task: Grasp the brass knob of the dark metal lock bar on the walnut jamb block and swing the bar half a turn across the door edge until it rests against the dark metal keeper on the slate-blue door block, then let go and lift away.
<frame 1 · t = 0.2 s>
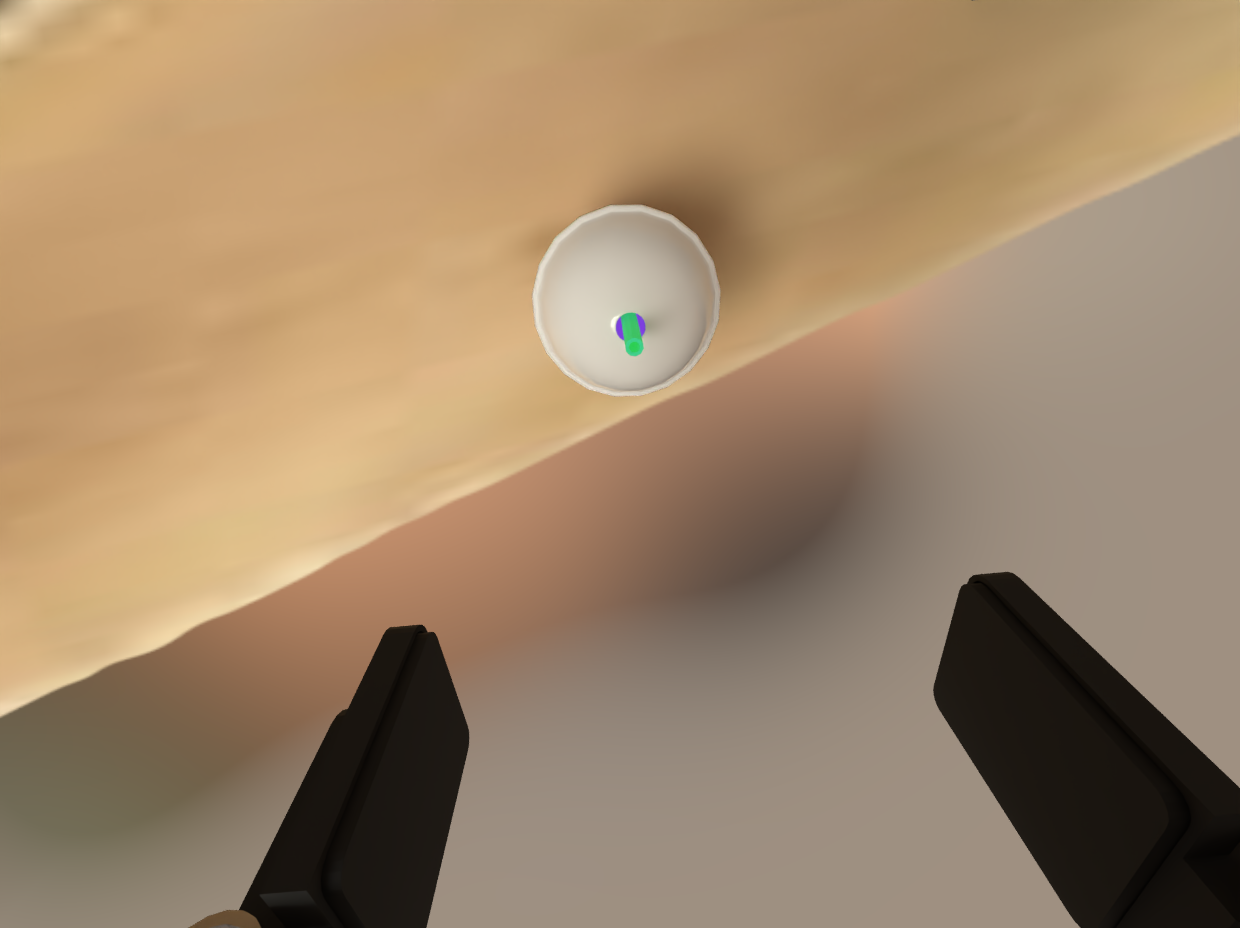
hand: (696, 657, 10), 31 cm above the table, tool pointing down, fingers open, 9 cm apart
smoothie: (618, 264, 36), on the table
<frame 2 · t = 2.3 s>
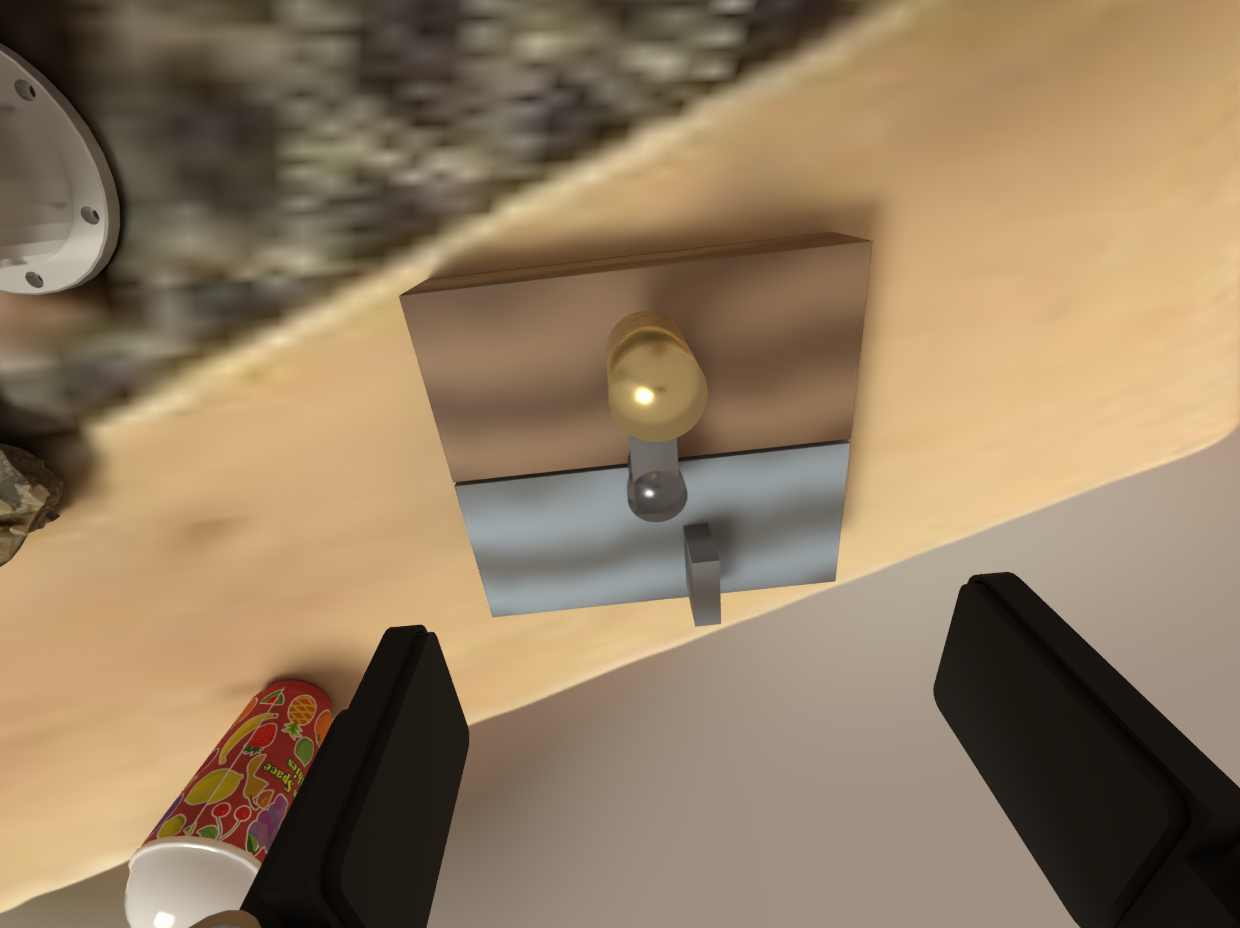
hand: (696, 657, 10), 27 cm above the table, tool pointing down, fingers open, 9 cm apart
lock bar: (656, 448, 24), point 12 cm above the table, hinge at 0.0°
smoothie: (300, 698, 48), on the table
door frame: (644, 426, 37), on the table
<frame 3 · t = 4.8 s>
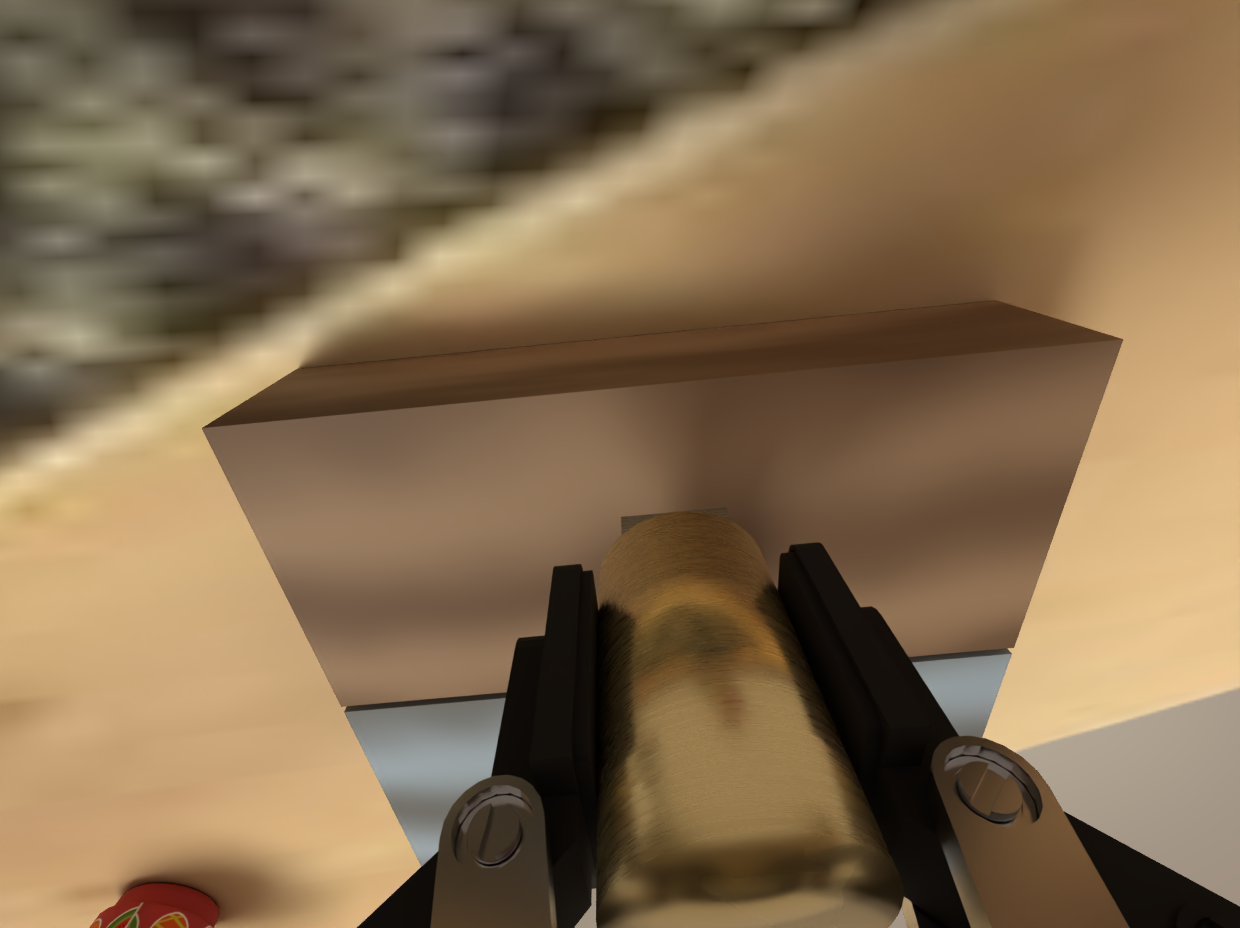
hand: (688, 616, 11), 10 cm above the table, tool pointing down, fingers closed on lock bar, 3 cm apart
lock bar: (703, 799, 11), point 12 cm above the table, hinge at 0.0°, touching gripper
smoothie: (175, 900, 35), on the table
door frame: (660, 583, 23), on the table
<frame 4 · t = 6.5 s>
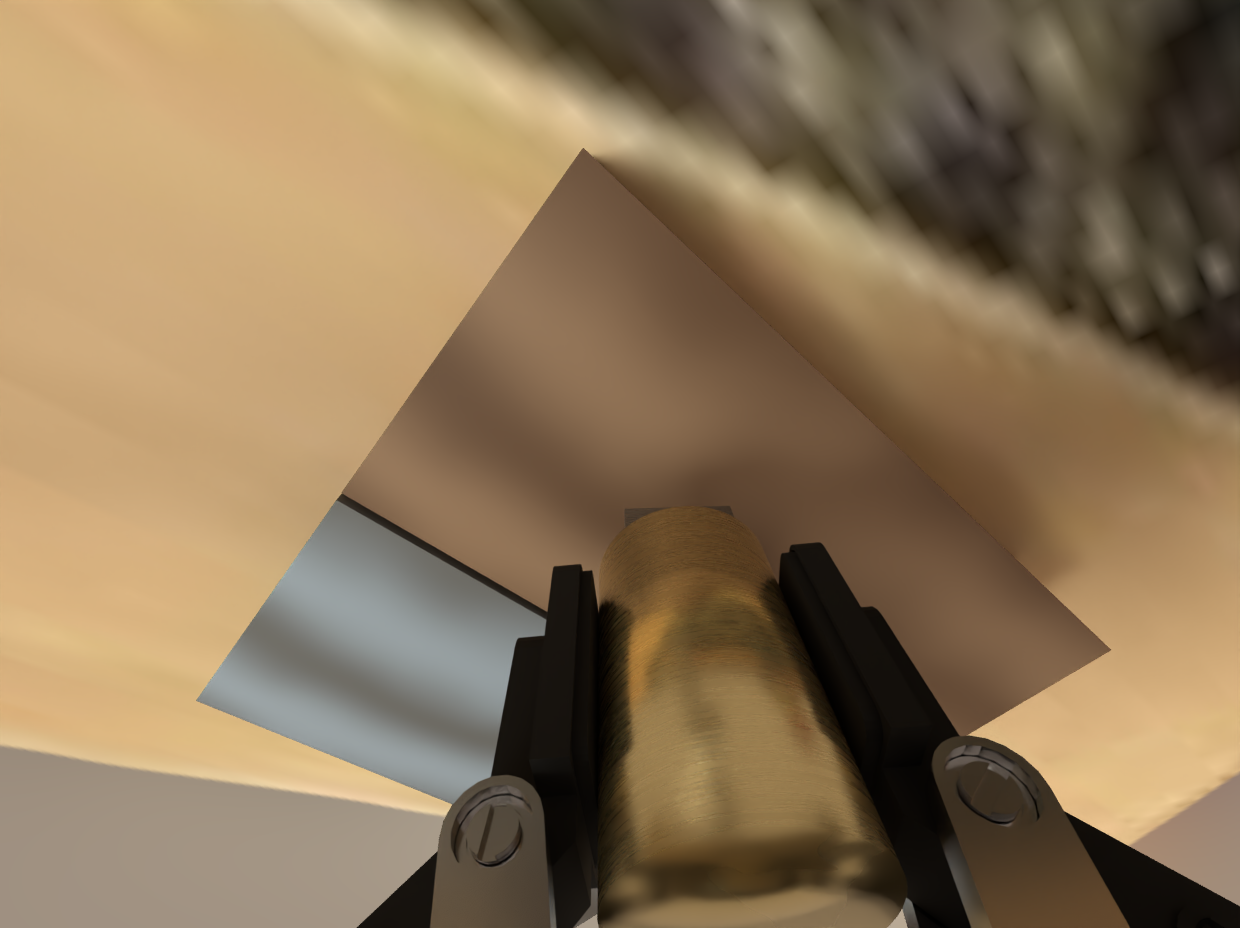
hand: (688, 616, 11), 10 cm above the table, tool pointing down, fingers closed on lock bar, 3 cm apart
lock bar: (689, 796, 11), point 12 cm above the table, hinge at 40.8°, touching gripper
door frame: (646, 581, 23), on the table
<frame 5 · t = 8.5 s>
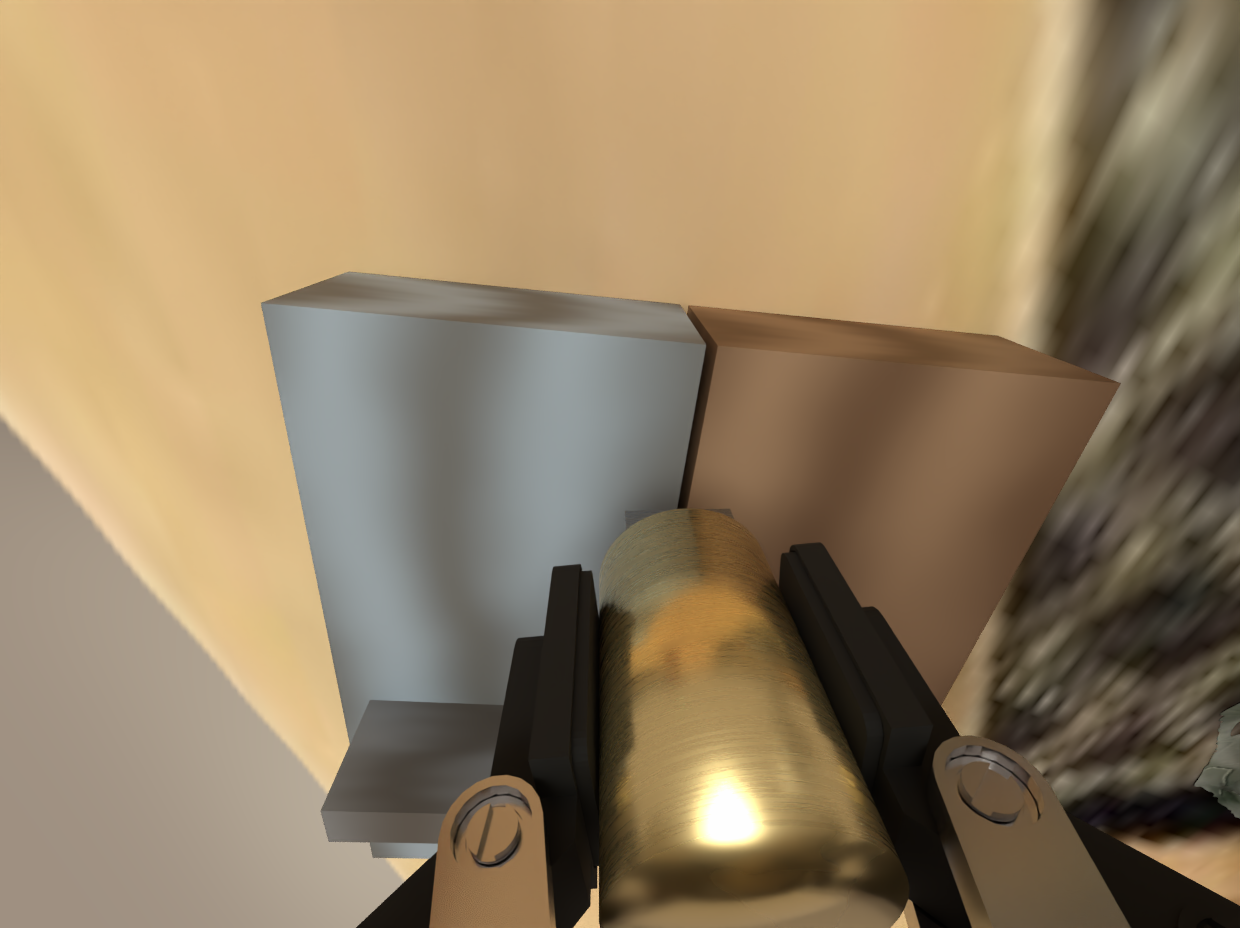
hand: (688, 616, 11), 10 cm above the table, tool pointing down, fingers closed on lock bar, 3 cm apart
lock bar: (689, 799, 11), point 12 cm above the table, hinge at 96.2°, touching gripper
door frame: (644, 584, 23), on the table
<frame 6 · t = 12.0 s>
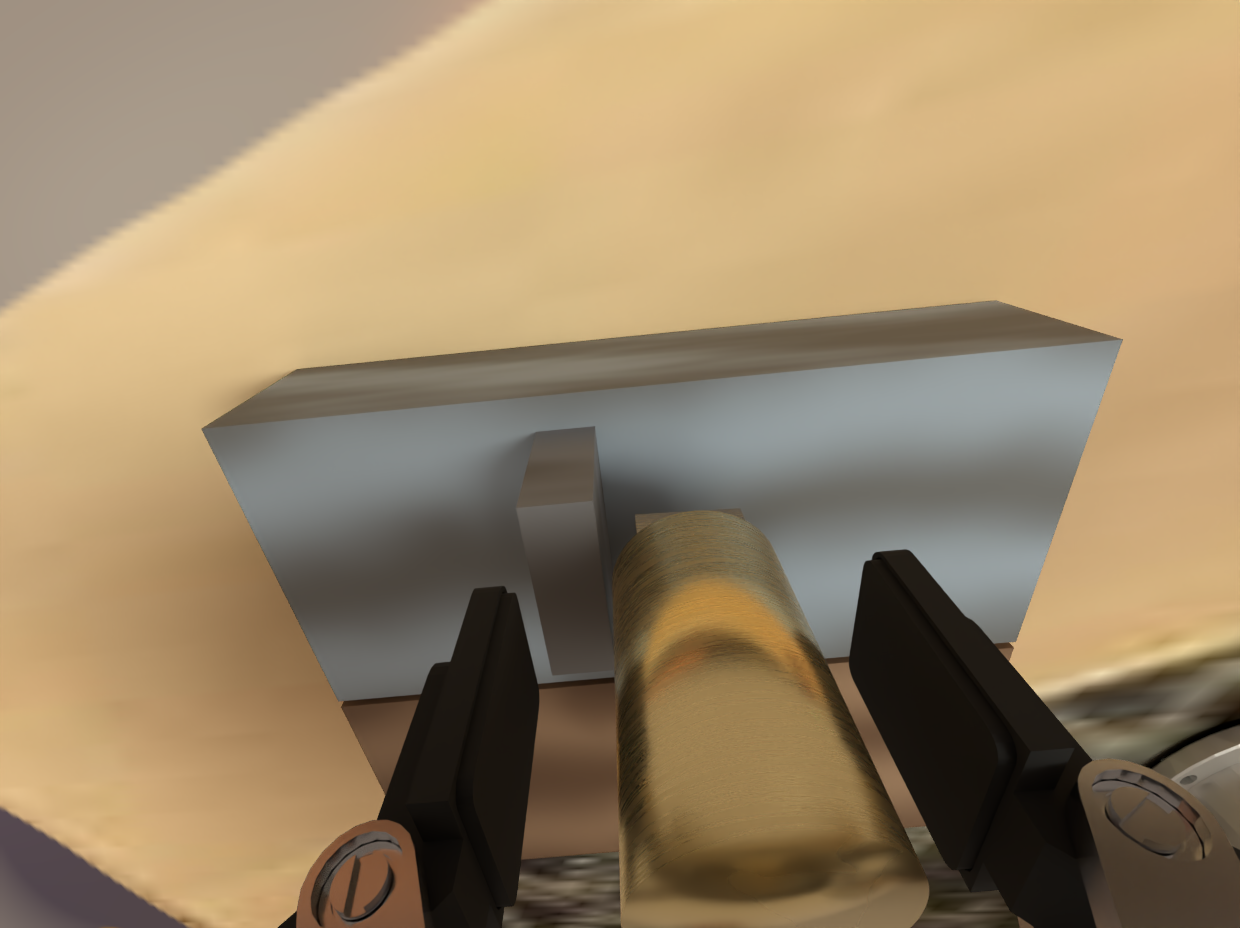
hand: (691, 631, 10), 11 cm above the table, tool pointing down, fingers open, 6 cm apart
lock bar: (710, 799, 11), point 12 cm above the table, hinge at 177.8°
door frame: (660, 584, 23), on the table
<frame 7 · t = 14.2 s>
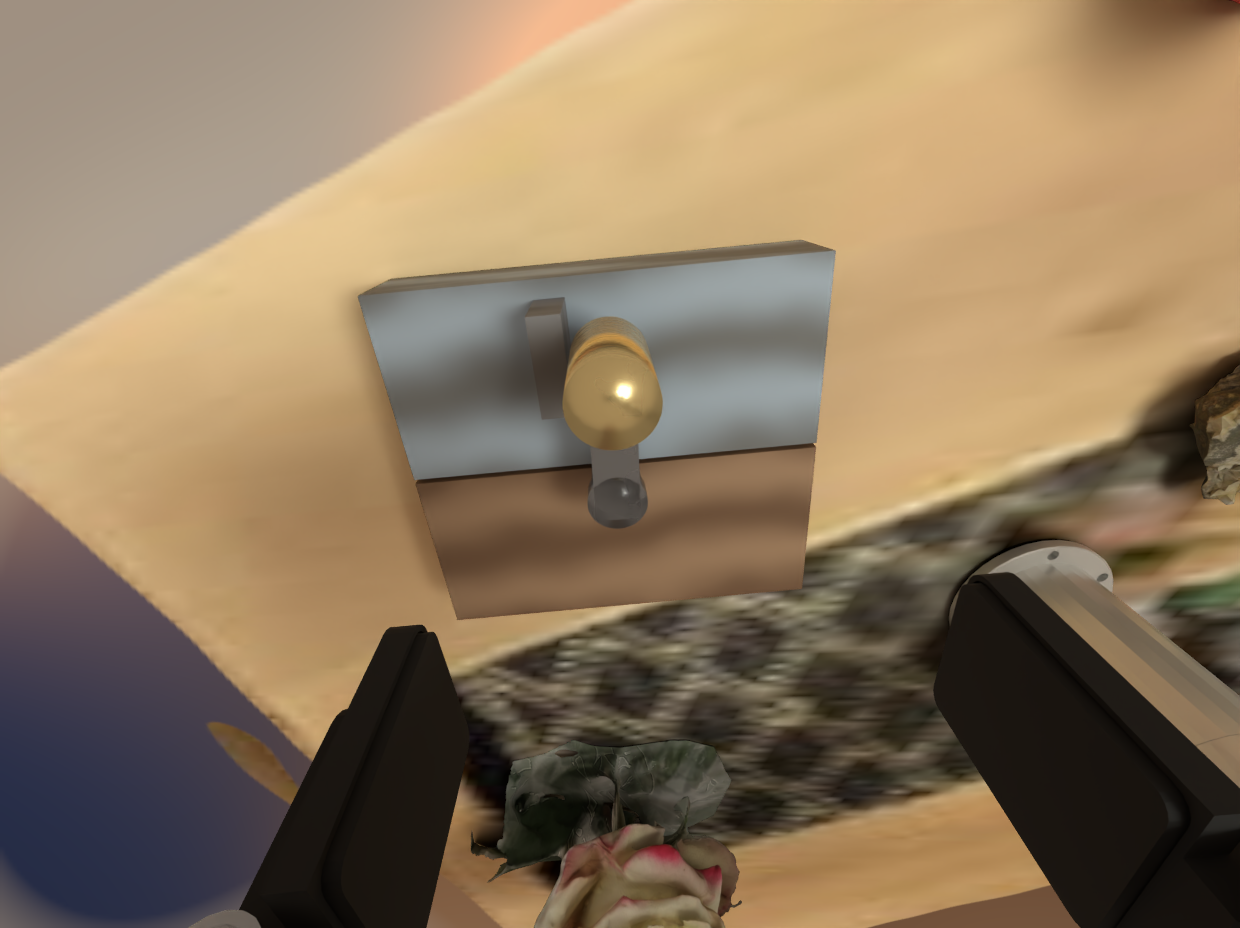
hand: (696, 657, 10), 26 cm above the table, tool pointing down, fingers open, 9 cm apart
lock bar: (615, 455, 24), point 12 cm above the table, hinge at 177.8°
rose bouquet: (614, 799, 57), on the table
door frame: (613, 430, 36), on the table
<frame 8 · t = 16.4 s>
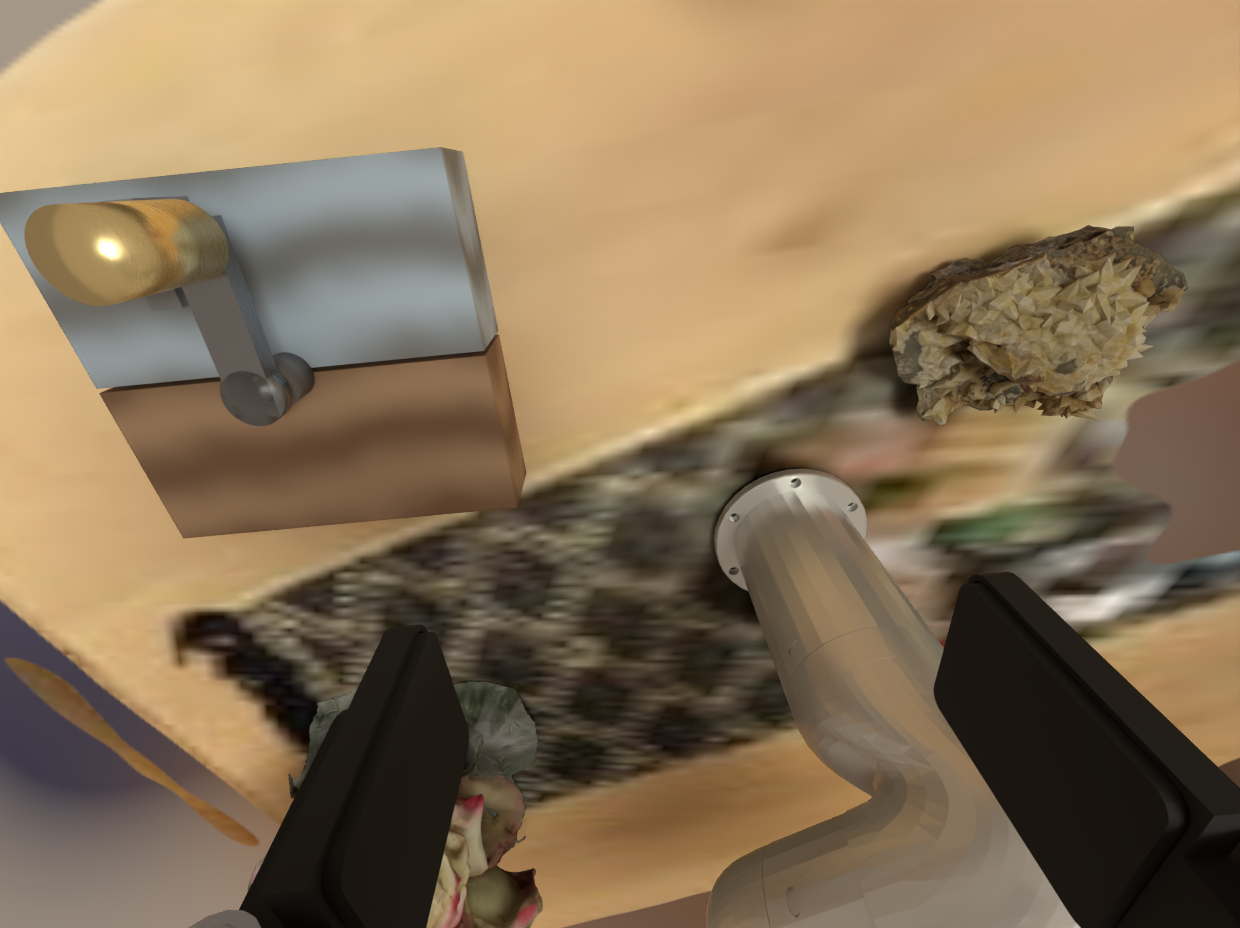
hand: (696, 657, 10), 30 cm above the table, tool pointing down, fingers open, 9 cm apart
lock bar: (189, 335, 25), point 12 cm above the table, hinge at 177.8°
mineral specimen: (966, 330, 38), on the table
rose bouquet: (432, 744, 58), on the table
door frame: (327, 351, 37), on the table
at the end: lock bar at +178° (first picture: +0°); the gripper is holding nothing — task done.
